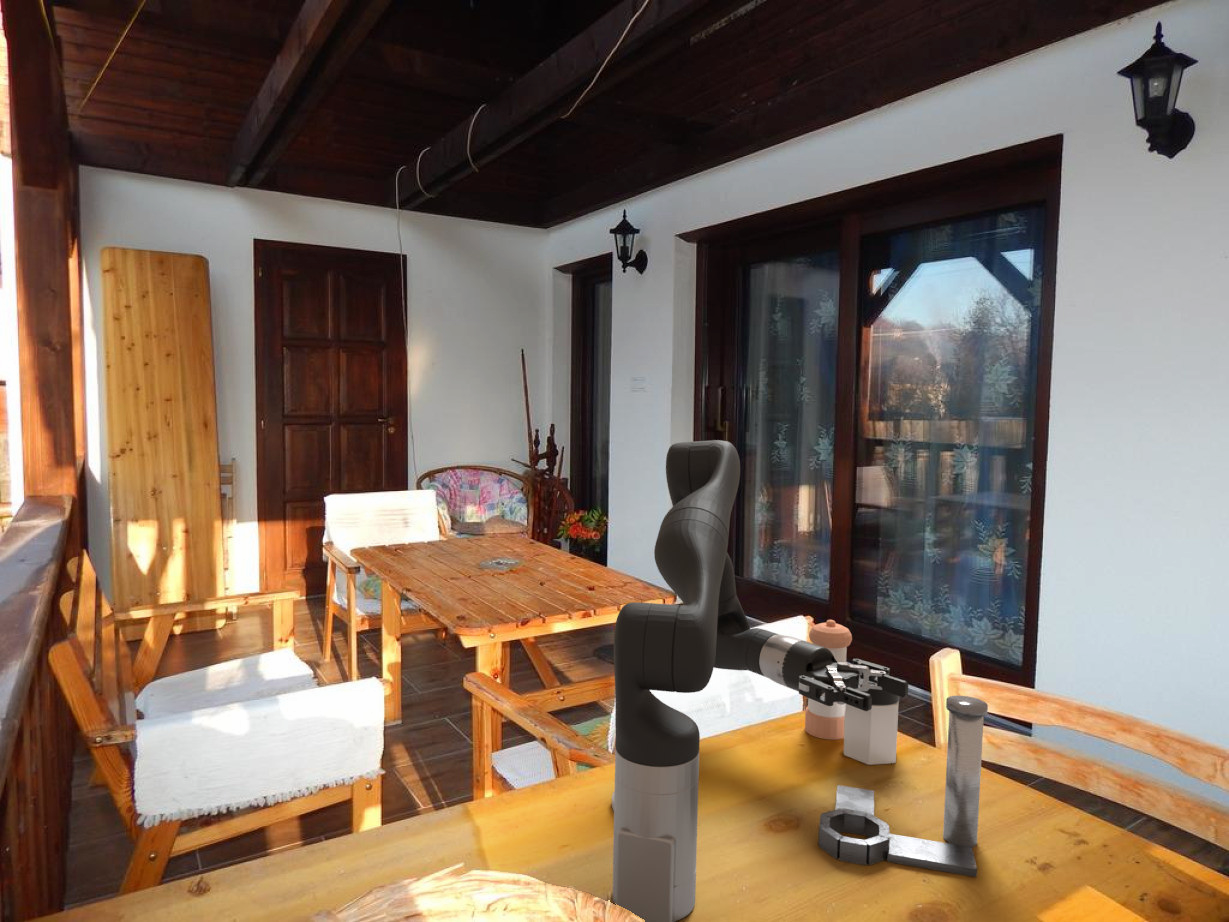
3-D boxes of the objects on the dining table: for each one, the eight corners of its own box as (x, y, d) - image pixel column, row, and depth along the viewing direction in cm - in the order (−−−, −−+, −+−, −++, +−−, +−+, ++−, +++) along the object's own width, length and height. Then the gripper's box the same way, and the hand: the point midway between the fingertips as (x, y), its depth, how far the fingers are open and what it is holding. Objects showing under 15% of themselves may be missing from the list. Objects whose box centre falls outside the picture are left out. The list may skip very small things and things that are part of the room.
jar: (845, 739, 135) (848, 668, 134) (897, 747, 132) (900, 674, 132) (840, 761, 127) (843, 685, 126) (896, 770, 124) (899, 693, 123)
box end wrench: (978, 885, 94) (979, 864, 94) (817, 856, 100) (817, 837, 100) (961, 810, 112) (962, 793, 112) (824, 789, 117) (825, 773, 117)
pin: (982, 852, 101) (990, 711, 100) (941, 845, 103) (948, 706, 102) (977, 833, 106) (985, 698, 105) (938, 826, 107) (944, 693, 106)
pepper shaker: (825, 743, 133) (830, 628, 132) (795, 727, 140) (799, 617, 138) (858, 735, 137) (862, 623, 135) (827, 719, 143) (831, 612, 142)
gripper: (765, 649, 120) (858, 681, 108) (826, 632, 129) (919, 660, 116) (764, 698, 121) (856, 736, 108) (825, 678, 130) (917, 711, 117)
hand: (889, 696), depth 112 cm, fingers open, 8 cm apart
